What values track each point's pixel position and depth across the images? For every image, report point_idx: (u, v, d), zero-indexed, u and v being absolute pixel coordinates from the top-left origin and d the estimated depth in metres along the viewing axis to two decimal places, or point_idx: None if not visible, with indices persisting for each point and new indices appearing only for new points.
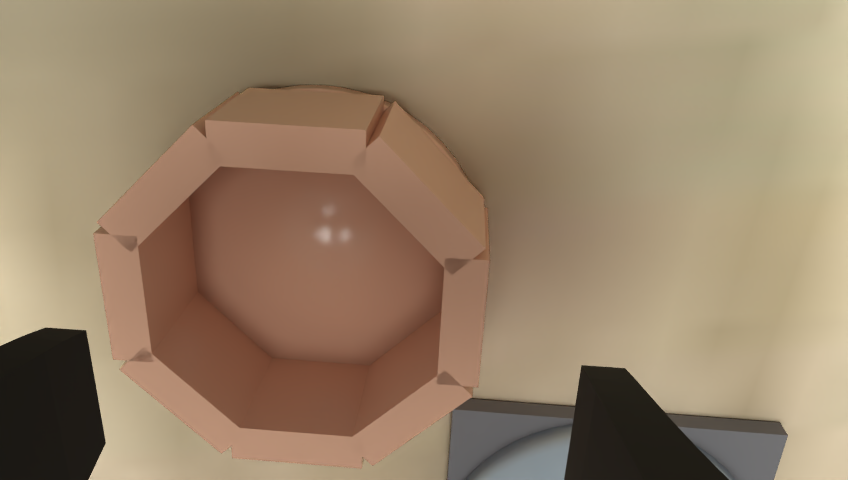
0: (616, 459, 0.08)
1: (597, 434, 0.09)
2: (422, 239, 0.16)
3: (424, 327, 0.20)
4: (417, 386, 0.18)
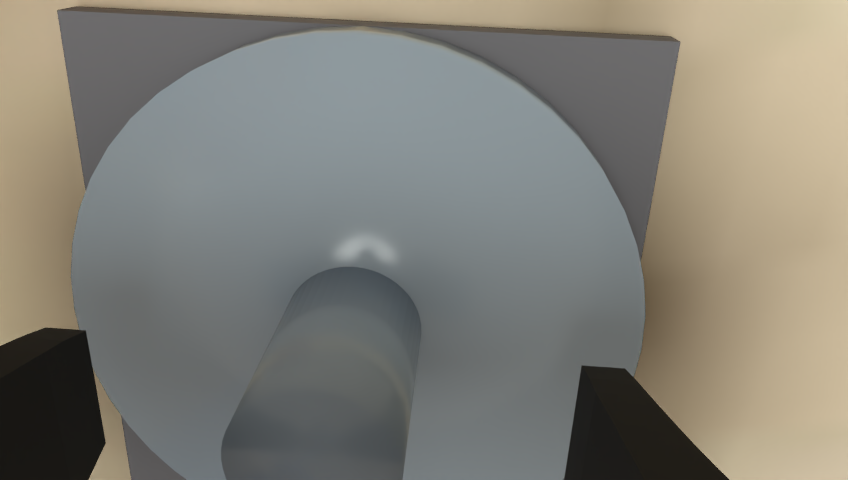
0: (616, 459, 0.08)
1: (597, 434, 0.09)
2: None
3: None
4: None
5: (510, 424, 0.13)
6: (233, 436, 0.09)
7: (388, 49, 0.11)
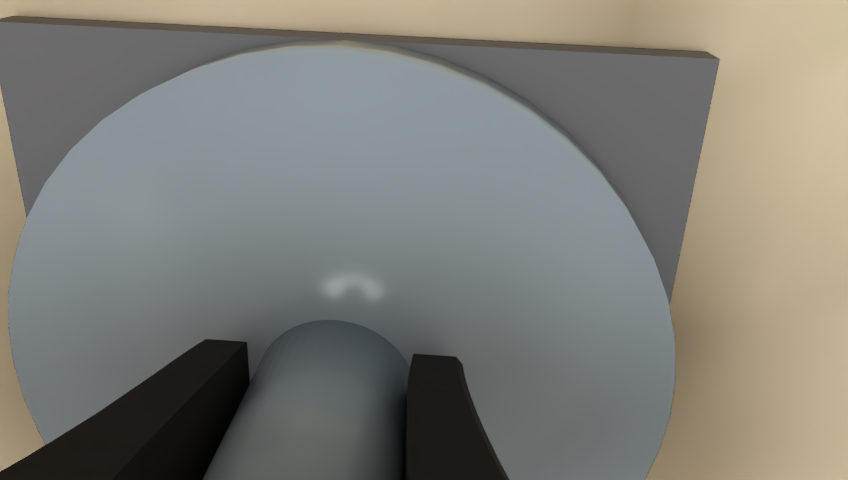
0: (408, 443, 0.08)
1: (406, 420, 0.09)
2: None
3: None
4: None
5: None
6: None
7: (374, 69, 0.09)
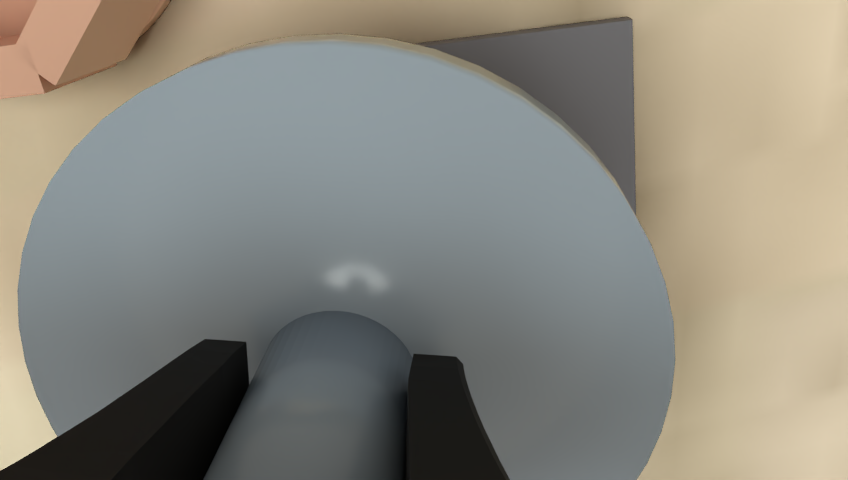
0: (408, 444, 0.08)
1: (407, 420, 0.09)
2: None
3: None
4: None
5: None
6: None
7: (367, 62, 0.09)
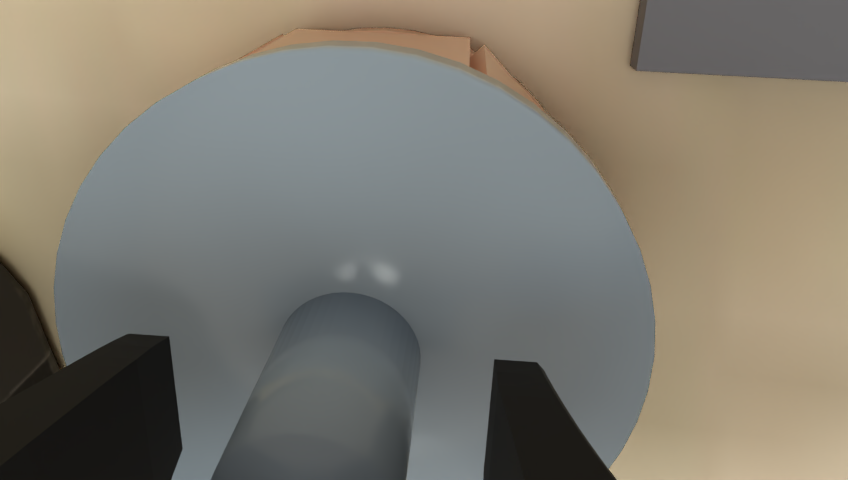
0: (507, 451, 0.08)
1: (498, 427, 0.09)
2: None
3: None
4: None
5: None
6: None
7: (314, 63, 0.10)
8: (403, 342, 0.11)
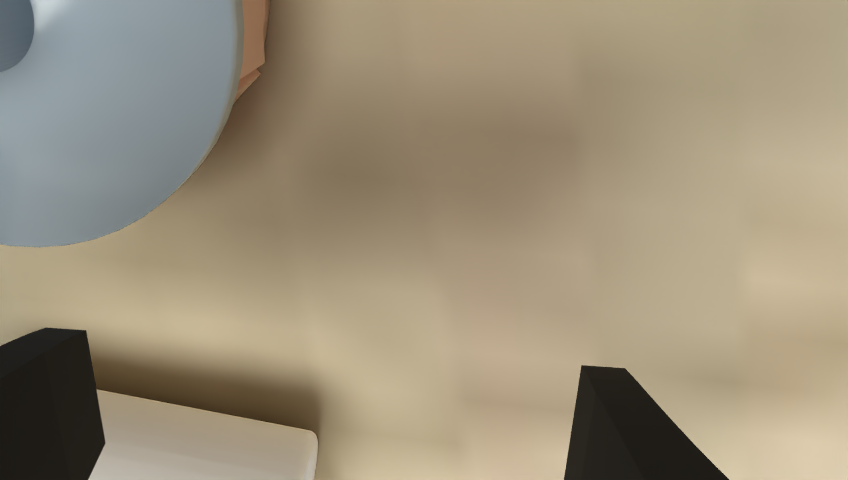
0: (616, 459, 0.08)
1: (597, 434, 0.09)
2: None
3: None
4: None
5: (143, 78, 0.14)
6: None
7: None
8: None
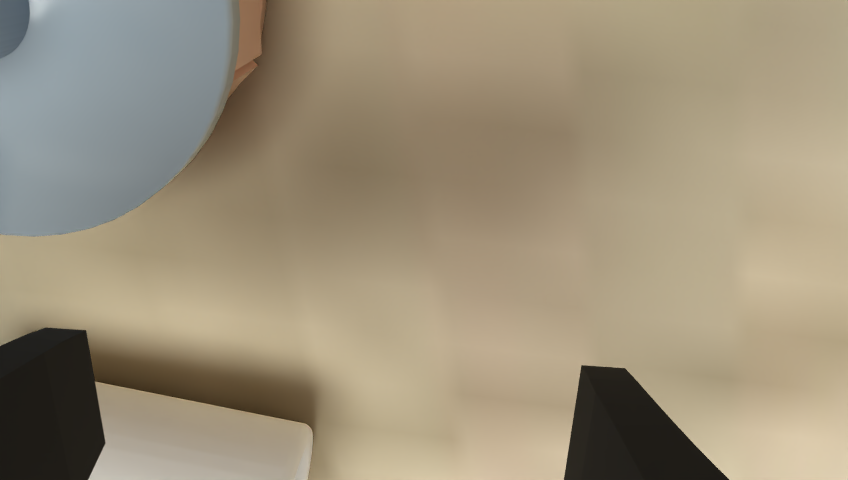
0: (616, 459, 0.08)
1: (597, 434, 0.09)
2: None
3: None
4: None
5: (138, 67, 0.14)
6: None
7: None
8: None
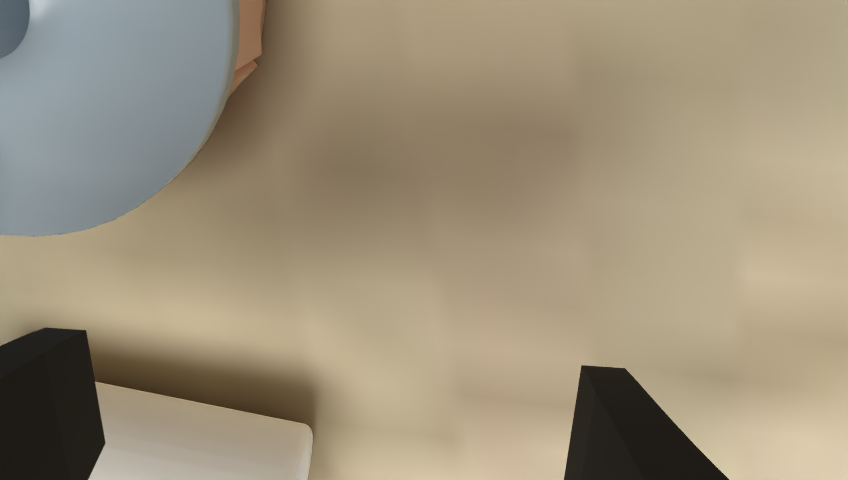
0: (616, 459, 0.08)
1: (597, 434, 0.09)
2: None
3: None
4: None
5: (138, 67, 0.14)
6: None
7: None
8: None
